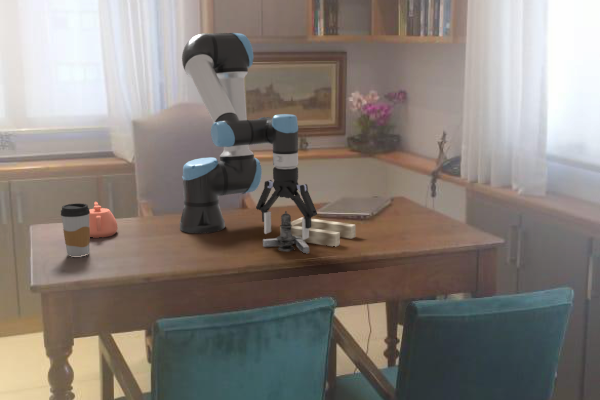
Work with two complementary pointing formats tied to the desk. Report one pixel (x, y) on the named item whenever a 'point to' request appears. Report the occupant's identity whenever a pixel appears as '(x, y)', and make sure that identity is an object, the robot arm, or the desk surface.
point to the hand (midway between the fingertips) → (286, 235)
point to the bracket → (324, 231)
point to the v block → (298, 241)
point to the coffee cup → (76, 228)
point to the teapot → (101, 222)
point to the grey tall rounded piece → (286, 234)
